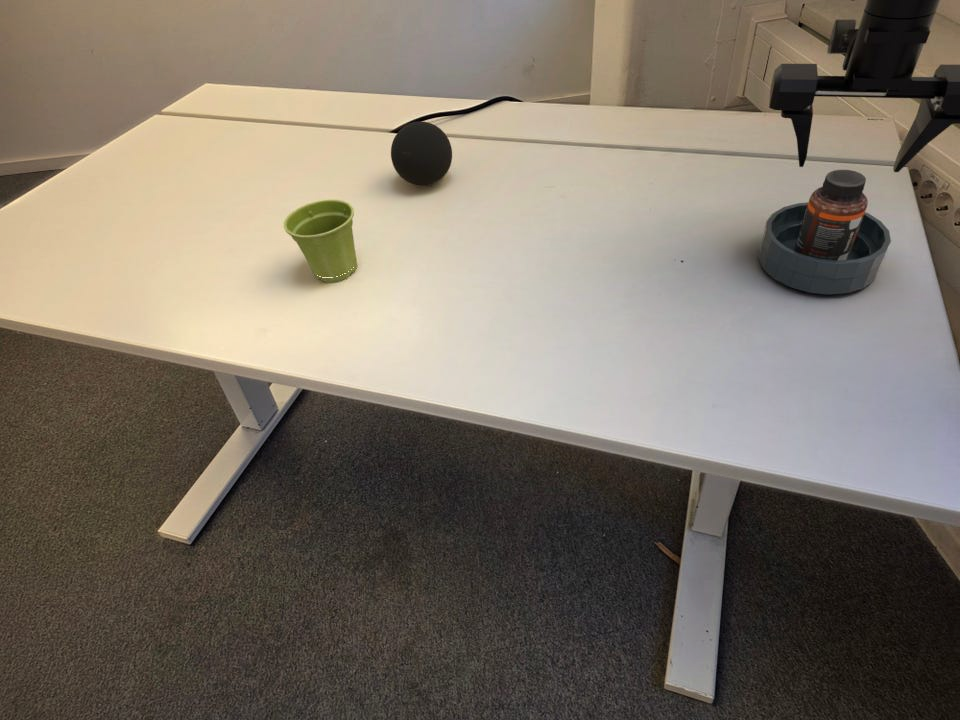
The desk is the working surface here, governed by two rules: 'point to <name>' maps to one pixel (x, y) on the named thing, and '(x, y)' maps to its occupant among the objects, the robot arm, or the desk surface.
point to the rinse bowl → (821, 272)
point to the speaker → (421, 153)
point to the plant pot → (325, 237)
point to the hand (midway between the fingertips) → (847, 167)
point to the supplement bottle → (833, 216)
